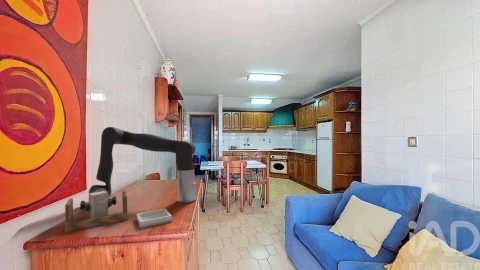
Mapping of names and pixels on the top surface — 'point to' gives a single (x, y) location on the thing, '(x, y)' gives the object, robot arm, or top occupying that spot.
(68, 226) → the two-post stand
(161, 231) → the top surface
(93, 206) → the skincare box
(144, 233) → the top surface
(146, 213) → the dish
